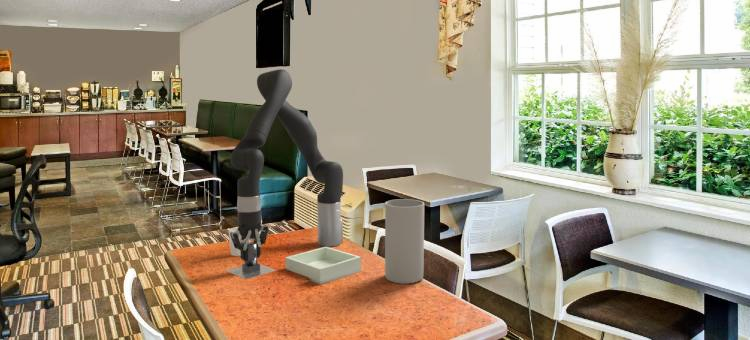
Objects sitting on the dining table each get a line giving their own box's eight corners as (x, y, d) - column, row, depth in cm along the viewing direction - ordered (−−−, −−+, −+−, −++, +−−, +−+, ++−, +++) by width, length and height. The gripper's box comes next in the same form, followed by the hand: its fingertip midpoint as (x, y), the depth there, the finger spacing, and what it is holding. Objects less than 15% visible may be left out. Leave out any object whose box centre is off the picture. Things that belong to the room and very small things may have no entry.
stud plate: (256, 265, 188) (256, 256, 188) (276, 273, 180) (276, 264, 180) (225, 273, 180) (225, 264, 179) (245, 282, 172) (245, 272, 171)
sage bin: (325, 259, 195) (325, 246, 194) (361, 271, 182) (360, 256, 182) (285, 271, 182) (285, 257, 181) (320, 284, 169) (320, 269, 169)
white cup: (225, 257, 197) (224, 231, 196) (238, 251, 205) (237, 226, 203) (242, 260, 195) (242, 233, 193) (255, 254, 202) (254, 228, 200)
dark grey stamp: (253, 267, 183) (252, 241, 182) (260, 270, 180) (259, 243, 179) (242, 270, 180) (241, 243, 179) (249, 273, 177) (248, 246, 176)
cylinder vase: (412, 287, 167) (412, 208, 164) (377, 280, 174) (377, 204, 170) (429, 275, 178) (430, 201, 174) (396, 269, 184) (397, 197, 181)
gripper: (260, 204, 185) (262, 252, 187) (223, 210, 174) (225, 261, 177) (273, 207, 179) (275, 256, 182) (236, 214, 169) (238, 266, 172)
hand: (250, 258), depth 179 cm, fingers closed on dark grey stamp, 4 cm apart
